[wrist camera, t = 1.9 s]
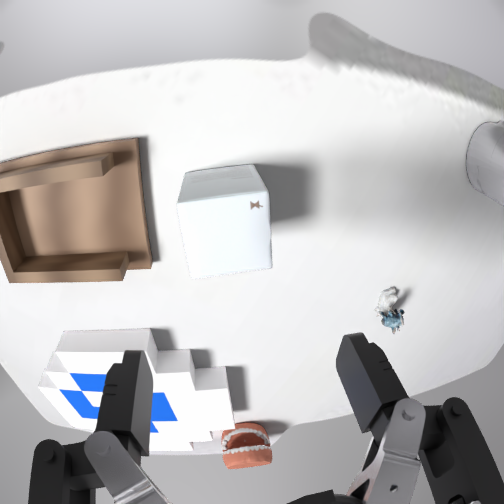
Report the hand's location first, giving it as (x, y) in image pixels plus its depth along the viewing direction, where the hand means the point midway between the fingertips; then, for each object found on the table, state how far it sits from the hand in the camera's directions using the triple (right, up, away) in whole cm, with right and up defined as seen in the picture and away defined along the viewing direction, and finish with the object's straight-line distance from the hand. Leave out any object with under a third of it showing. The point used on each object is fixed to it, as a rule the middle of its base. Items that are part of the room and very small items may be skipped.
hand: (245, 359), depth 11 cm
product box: (-2, +9, +15) cm, 18 cm away
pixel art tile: (-17, -17, +28) cm, 37 cm away
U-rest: (-17, +8, +13) cm, 23 cm away
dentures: (-1, -27, +36) cm, 45 cm away
